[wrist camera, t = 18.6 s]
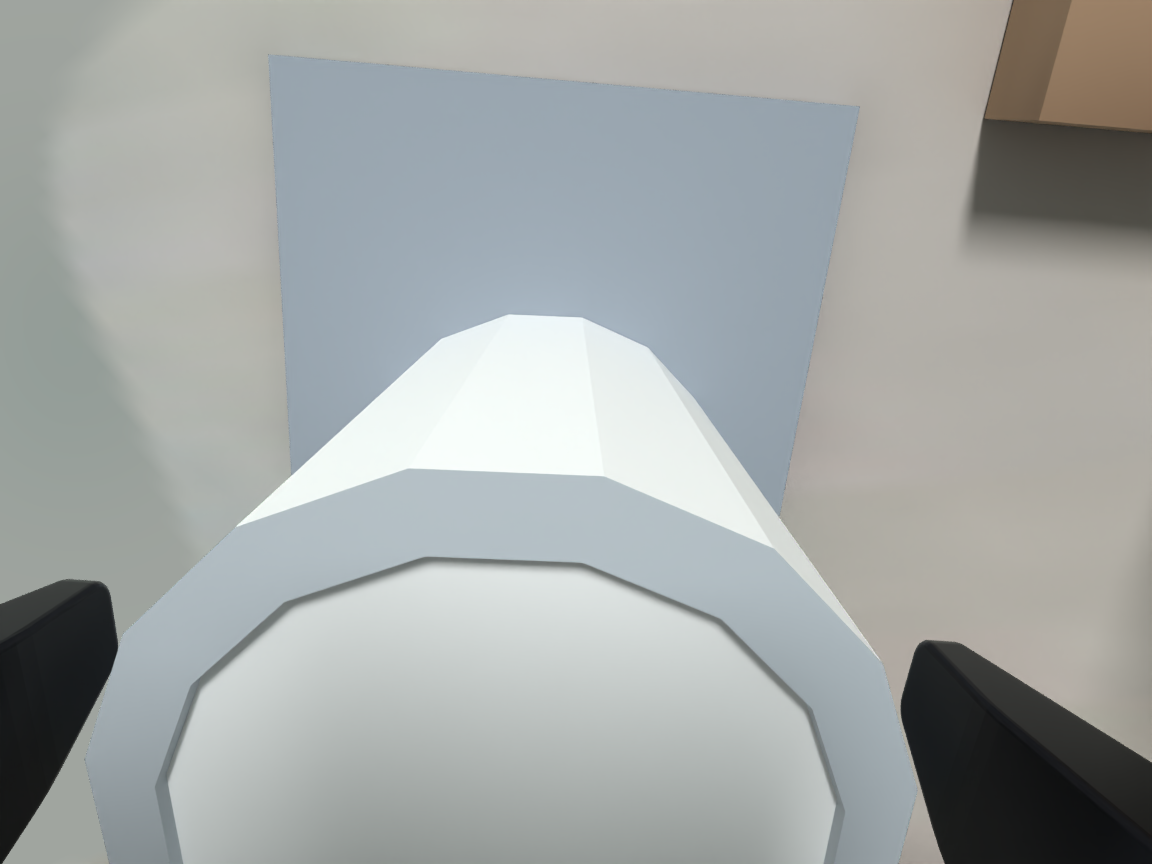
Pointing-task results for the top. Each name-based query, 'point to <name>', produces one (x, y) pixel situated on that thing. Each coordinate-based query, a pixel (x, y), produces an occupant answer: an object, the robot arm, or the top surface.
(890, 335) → the top surface
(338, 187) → the slate mat
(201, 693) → the white tapered cup
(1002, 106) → the stand
